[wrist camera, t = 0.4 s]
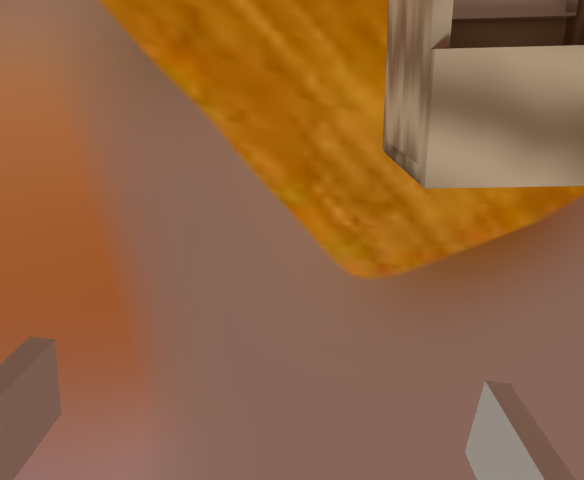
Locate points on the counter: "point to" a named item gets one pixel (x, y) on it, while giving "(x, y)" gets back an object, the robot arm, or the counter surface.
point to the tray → (512, 9)
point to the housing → (484, 98)
